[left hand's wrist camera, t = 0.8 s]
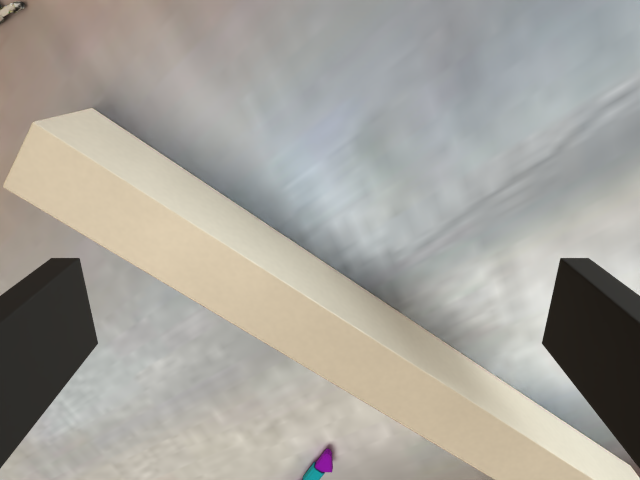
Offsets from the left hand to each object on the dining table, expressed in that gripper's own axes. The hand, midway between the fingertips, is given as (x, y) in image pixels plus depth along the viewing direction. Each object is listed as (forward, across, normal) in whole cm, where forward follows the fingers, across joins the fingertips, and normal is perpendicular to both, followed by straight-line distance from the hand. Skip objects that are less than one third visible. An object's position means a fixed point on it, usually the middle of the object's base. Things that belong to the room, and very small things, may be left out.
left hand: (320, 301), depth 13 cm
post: (+24, +6, -17) cm, 30 cm away
